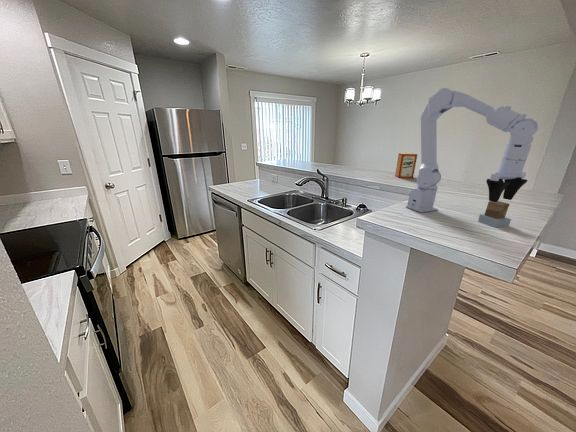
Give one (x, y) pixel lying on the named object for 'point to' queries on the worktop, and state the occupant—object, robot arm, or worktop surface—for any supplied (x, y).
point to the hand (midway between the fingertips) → (500, 200)
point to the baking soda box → (406, 165)
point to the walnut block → (496, 209)
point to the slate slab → (494, 221)
